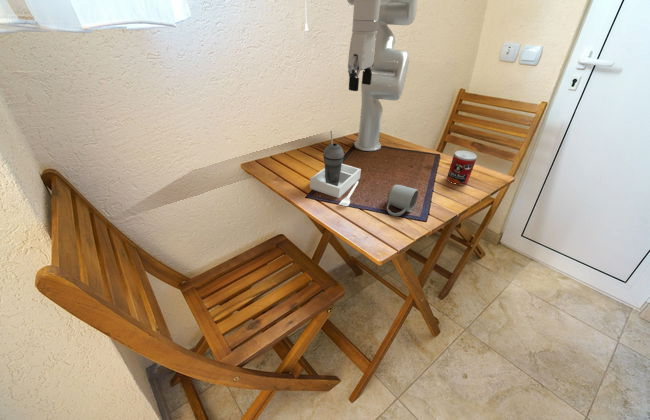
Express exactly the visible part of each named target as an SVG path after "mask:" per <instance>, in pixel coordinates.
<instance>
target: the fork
mask: <svg viewBox="0 0 650 420" xmlns="http://www.w3.org/2000/svg"><path fill="white" fill-rule="evenodd" d="M358 184H359V180H358V181H357V182H356V183H355V184H353V187H351V189H350V191H349V192H348V195H346V197H344V198H343V199H342V200H341V201H340V202H339V203H338V205H339V206H340V205H341V206H345V207H349V205H350V204H351V199H350V198H351V197H352V195H353V193H354V192H355V190H356V187H357V186H358Z"/></svg>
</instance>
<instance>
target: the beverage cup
mask: <svg viewBox="0 0 650 420" xmlns="http://www.w3.org/2000/svg"><path fill="white" fill-rule="evenodd" d="M330 140H331V143H329V144H328V145H327V146H325V148H324V150H323V154H322V156H323V162H324V168H325V180H326V183H328V184H331V185H335V186H338V183H339V178H340V172H341V166H342V164H343V162H344V158H345V153H344V149H343V148H342V146H341V145H339V144H338V143H334V141H333V131H332V130H330Z"/></svg>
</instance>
